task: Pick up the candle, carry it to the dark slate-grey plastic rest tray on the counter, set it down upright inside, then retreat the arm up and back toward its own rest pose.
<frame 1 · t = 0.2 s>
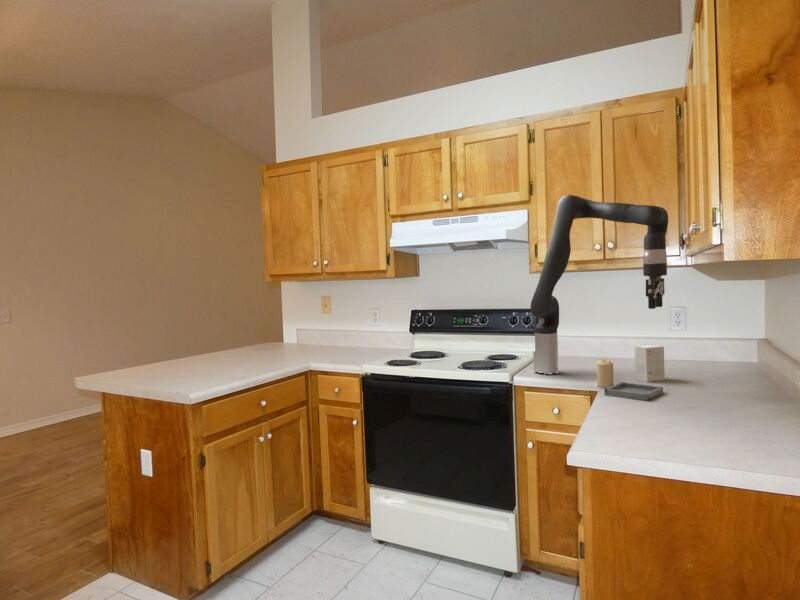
hand: (655, 307, 174), 28 cm above the countertop, fingers open, 8 cm apart
small box: (650, 380, 187), on the countertop
rest tray: (633, 393, 166), on the countertop
candle: (605, 387, 178), on the countertop
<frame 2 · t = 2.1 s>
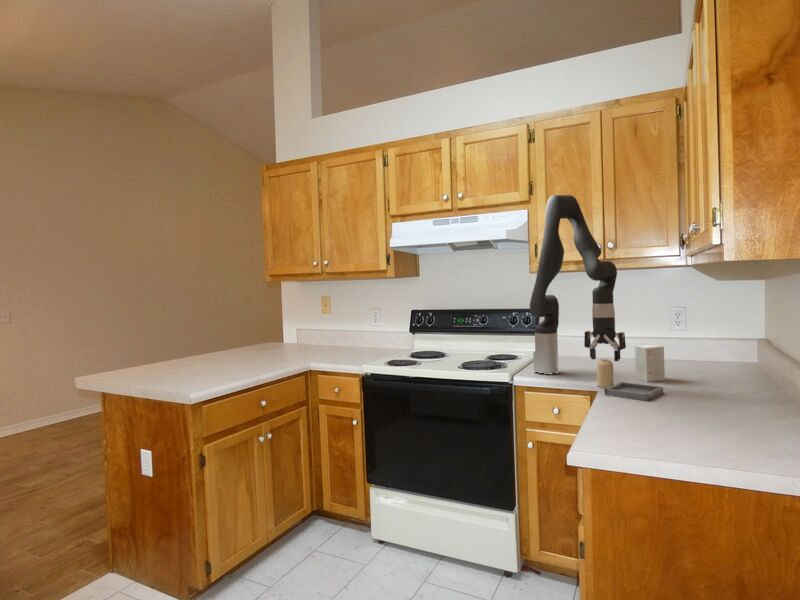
hand: (605, 360, 178), 10 cm above the countertop, fingers open, 8 cm apart
nothing on the countertop moved.
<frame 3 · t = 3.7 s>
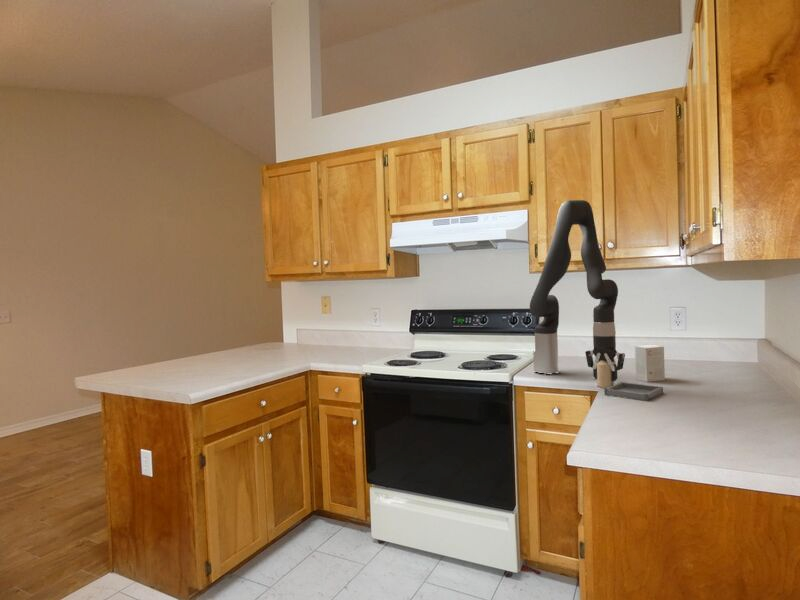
hand: (605, 379, 178), 3 cm above the countertop, fingers closed on candle, 5 cm apart
candle: (605, 387, 178), on the countertop, touching gripper
everything else where it was.
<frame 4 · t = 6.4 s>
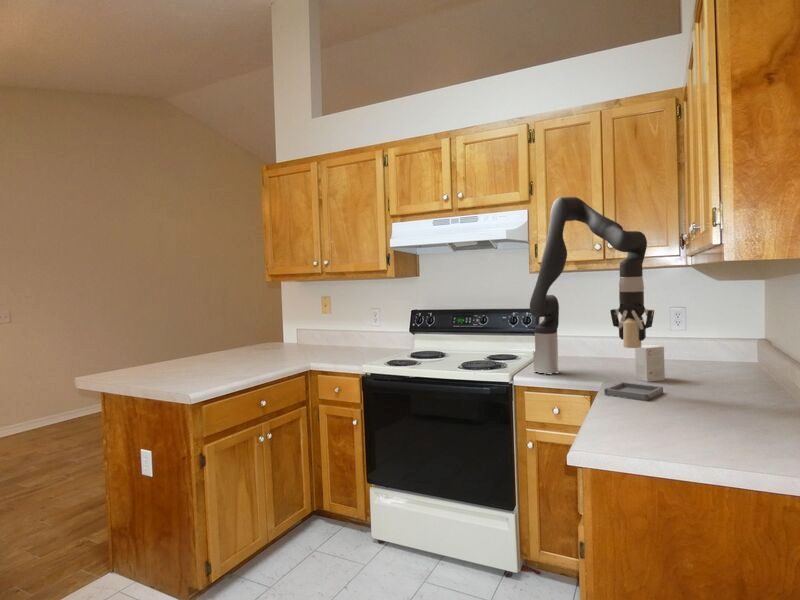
hand: (632, 339, 166), 19 cm above the countertop, fingers closed on candle, 5 cm apart
candle: (632, 347, 166), point 16 cm above the countertop, touching gripper
everything else where it was.
when the fingers open (4 cm above the countertop, at t = 9.3 s): candle drops 1 cm, resting on rest tray.
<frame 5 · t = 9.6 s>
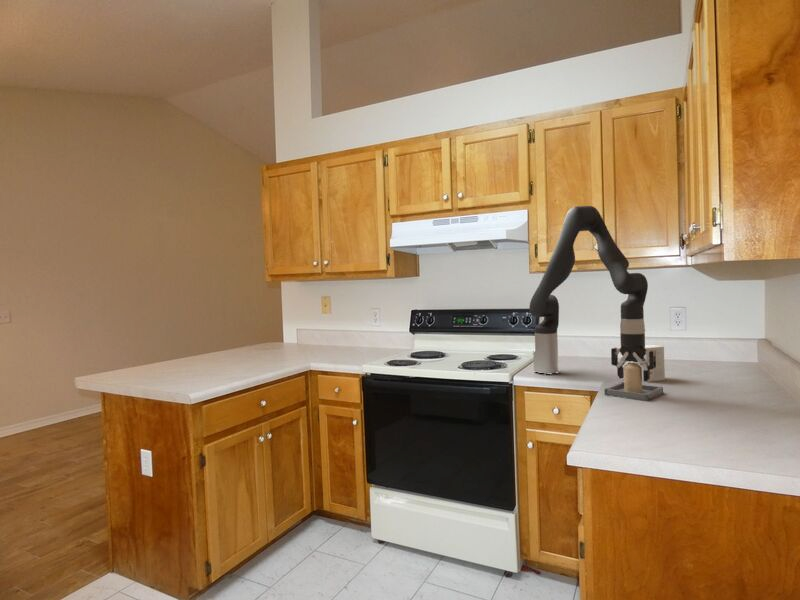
hand: (633, 379, 166), 5 cm above the countertop, fingers open, 7 cm apart
candle: (633, 392, 166), resting on rest tray
everything else where it was.
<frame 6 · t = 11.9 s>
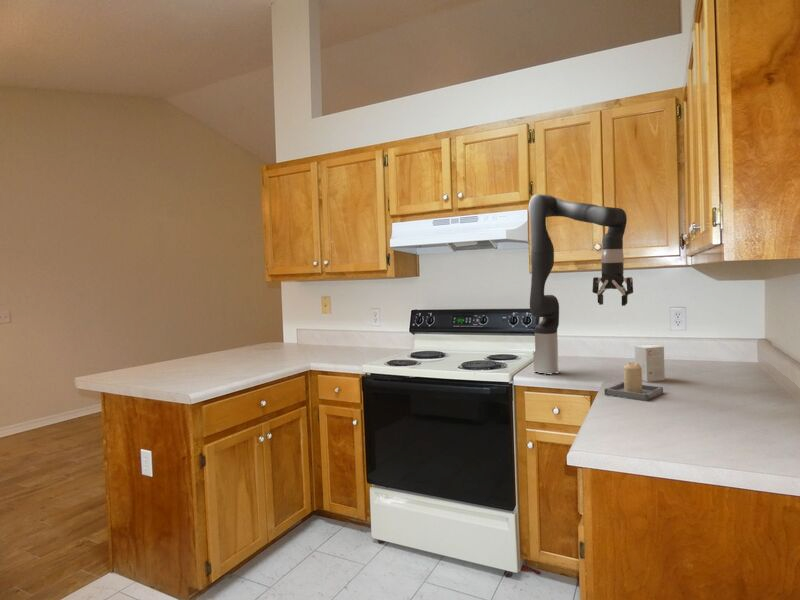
hand: (612, 305, 182), 30 cm above the countertop, fingers open, 8 cm apart
nothing on the countertop moved.
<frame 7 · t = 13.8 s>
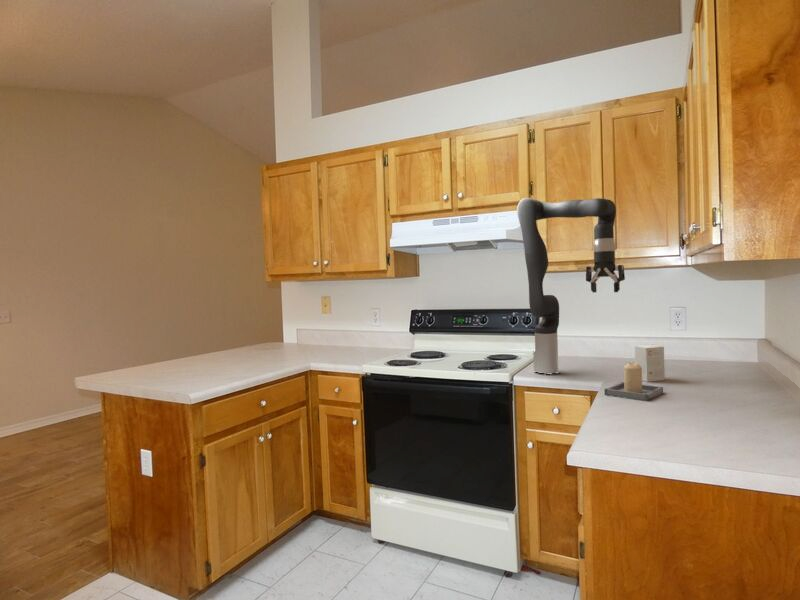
hand: (605, 292, 189), 34 cm above the countertop, fingers open, 8 cm apart
nothing on the countertop moved.
at the end: candle inside the target area on the rest tray (0.2 cm from its centre), point 0.4 cm above the rest tray's base; candle tilted 0°; the gripper is holding nothing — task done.
